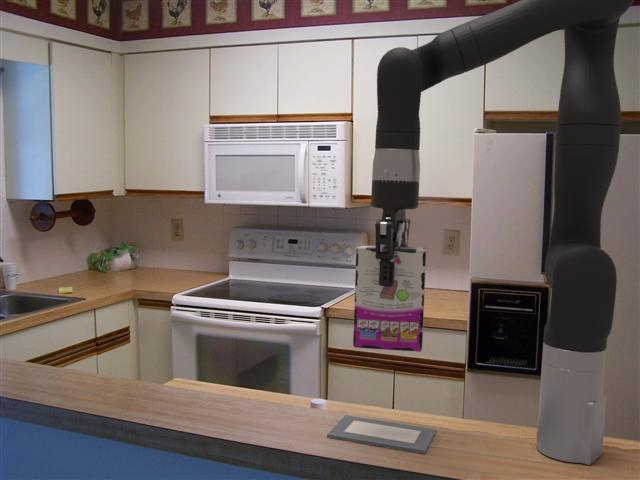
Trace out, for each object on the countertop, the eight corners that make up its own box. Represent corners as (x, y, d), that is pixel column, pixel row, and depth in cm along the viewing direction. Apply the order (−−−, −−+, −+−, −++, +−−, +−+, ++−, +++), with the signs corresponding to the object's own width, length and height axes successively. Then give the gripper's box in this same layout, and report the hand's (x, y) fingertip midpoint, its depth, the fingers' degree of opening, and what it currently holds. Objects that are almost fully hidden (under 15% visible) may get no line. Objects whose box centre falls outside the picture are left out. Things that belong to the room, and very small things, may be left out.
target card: (436, 432, 114) (436, 428, 114) (425, 454, 105) (425, 450, 104) (345, 417, 119) (345, 414, 119) (326, 437, 110) (327, 433, 110)
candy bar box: (421, 345, 112) (427, 246, 111) (422, 353, 107) (427, 249, 106) (354, 340, 114) (358, 243, 112) (351, 348, 109) (356, 246, 107)
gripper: (409, 178, 100) (403, 292, 102) (427, 180, 114) (422, 280, 115) (360, 177, 103) (355, 287, 104) (383, 178, 116) (379, 276, 118)
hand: (390, 283), depth 110 cm, fingers closed on candy bar box, 5 cm apart
